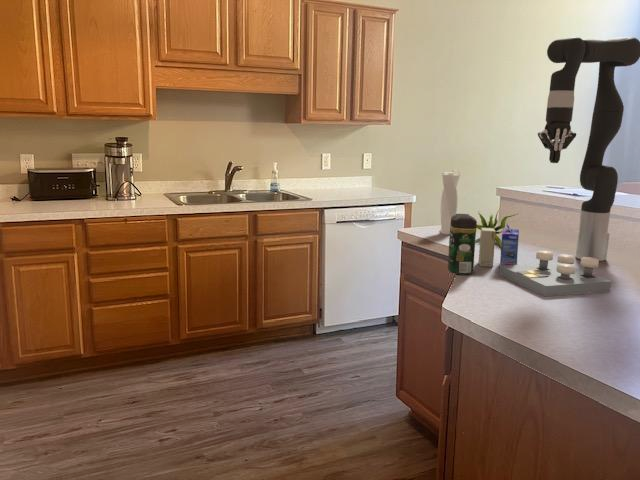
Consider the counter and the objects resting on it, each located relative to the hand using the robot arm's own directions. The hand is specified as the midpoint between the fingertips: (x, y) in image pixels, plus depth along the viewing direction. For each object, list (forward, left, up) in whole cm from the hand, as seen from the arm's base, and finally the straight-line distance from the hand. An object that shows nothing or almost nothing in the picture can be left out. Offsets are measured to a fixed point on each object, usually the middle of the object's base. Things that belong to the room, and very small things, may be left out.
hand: (554, 162), depth 175 cm
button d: (+7, +19, -33) cm, 39 cm away
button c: (+6, +8, -32) cm, 33 cm away
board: (+6, +14, -35) cm, 38 cm away
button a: (-2, +8, -33) cm, 34 cm away
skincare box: (+15, -10, -35) cm, 40 cm away
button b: (-2, +19, -32) cm, 37 cm away
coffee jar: (+28, -4, -35) cm, 45 cm away
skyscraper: (+2, -61, -36) cm, 71 cm away
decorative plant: (-7, -38, -35) cm, 52 cm away
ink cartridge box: (+9, -6, -35) cm, 37 cm away
